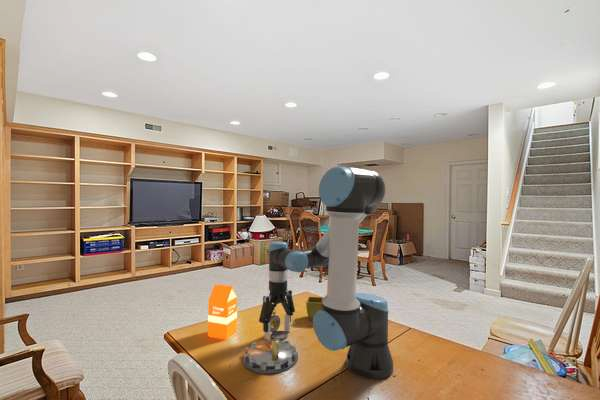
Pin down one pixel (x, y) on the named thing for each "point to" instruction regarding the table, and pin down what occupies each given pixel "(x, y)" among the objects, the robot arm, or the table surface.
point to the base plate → (272, 370)
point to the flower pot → (313, 306)
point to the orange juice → (222, 312)
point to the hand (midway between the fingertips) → (277, 334)
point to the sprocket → (270, 354)
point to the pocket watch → (275, 333)
